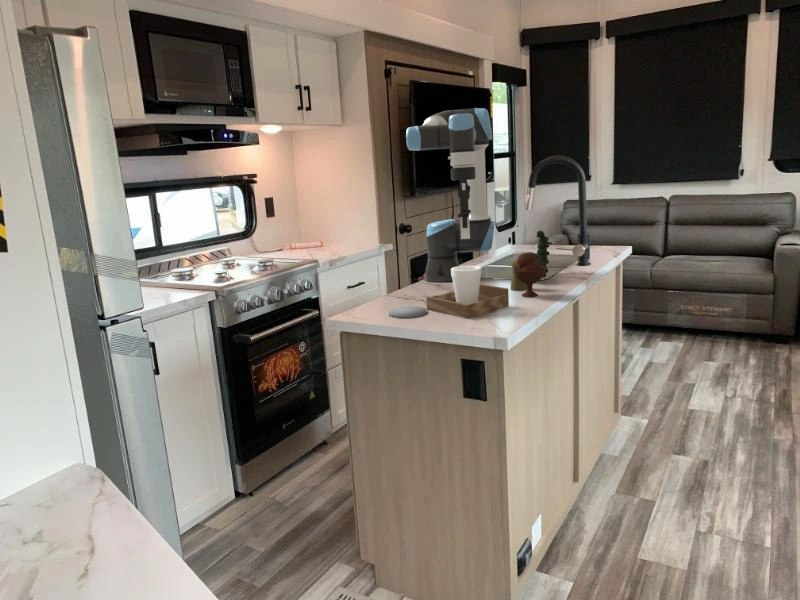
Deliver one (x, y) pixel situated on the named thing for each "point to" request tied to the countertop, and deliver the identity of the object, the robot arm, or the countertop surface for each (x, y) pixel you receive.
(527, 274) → the ice cream bowl
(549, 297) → the countertop surface
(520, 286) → the cork
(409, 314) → the rubber mat
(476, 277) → the foam cup
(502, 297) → the frame
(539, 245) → the toy figurine
